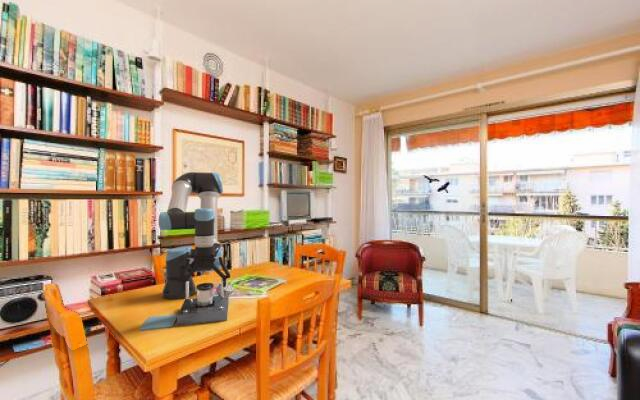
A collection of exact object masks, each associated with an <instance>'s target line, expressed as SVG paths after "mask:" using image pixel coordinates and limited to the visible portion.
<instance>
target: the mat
mask: <svg viewBox="0 0 640 400" xmlns="http://www.w3.org/2000/svg"><path fill="white" fill-rule="evenodd" d="M177 315H178V313H175V314H166V315H156V316H148V317H147V319H146V320H145V321H144V323H143V324H142V325H141V327H139V331H150V330H157V329H158V330H159V329H160V330H161V329H168V328H173V327H174V325H175V324H176V322H177Z"/></svg>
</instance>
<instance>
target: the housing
mask: <svg viewBox="0 0 640 400" xmlns="http://www.w3.org/2000/svg"><path fill="white" fill-rule="evenodd" d="M229 302H230V301H229V296H228V295H224V296H219V295H215V296H213V307H205V308H197V297H195V298H194V297H193V298H188V299H186V298H185V299H184V301H183V303H182V306H181V307H180V309H179V311H178V313H177V314H178V315H177V319H176V323H177V324H176V326H177V327H178V326H179V327H180V326H189V325H199V324H207V323H216V322H217V323H218V322H224V321H225V322H227V320H228V314H229Z"/></svg>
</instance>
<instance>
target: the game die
mask: <svg viewBox="0 0 640 400" xmlns="http://www.w3.org/2000/svg"><path fill="white" fill-rule="evenodd" d="M231 284H232V283H231V281H230V282H227V281H226V287H223V296H224V295H228V297H230V296H231V294H232V293H233V294H234V293H235V291H233V286H234V285H231ZM214 288H215V289H216V294H215V296H221V282H220V283H218V286H216V287H215V286H214ZM229 295H230V296H229Z"/></svg>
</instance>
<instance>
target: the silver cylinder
mask: <svg viewBox="0 0 640 400" xmlns="http://www.w3.org/2000/svg"><path fill="white" fill-rule="evenodd" d="M195 287H196V294H197V295H196V296H197V297H196V298H197V308H205V307H213V294H214V293H213V292H214V291H213V290H214V289H213V288H215V285H214V283H212V282H203V283H199V284H197V285H195Z"/></svg>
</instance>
